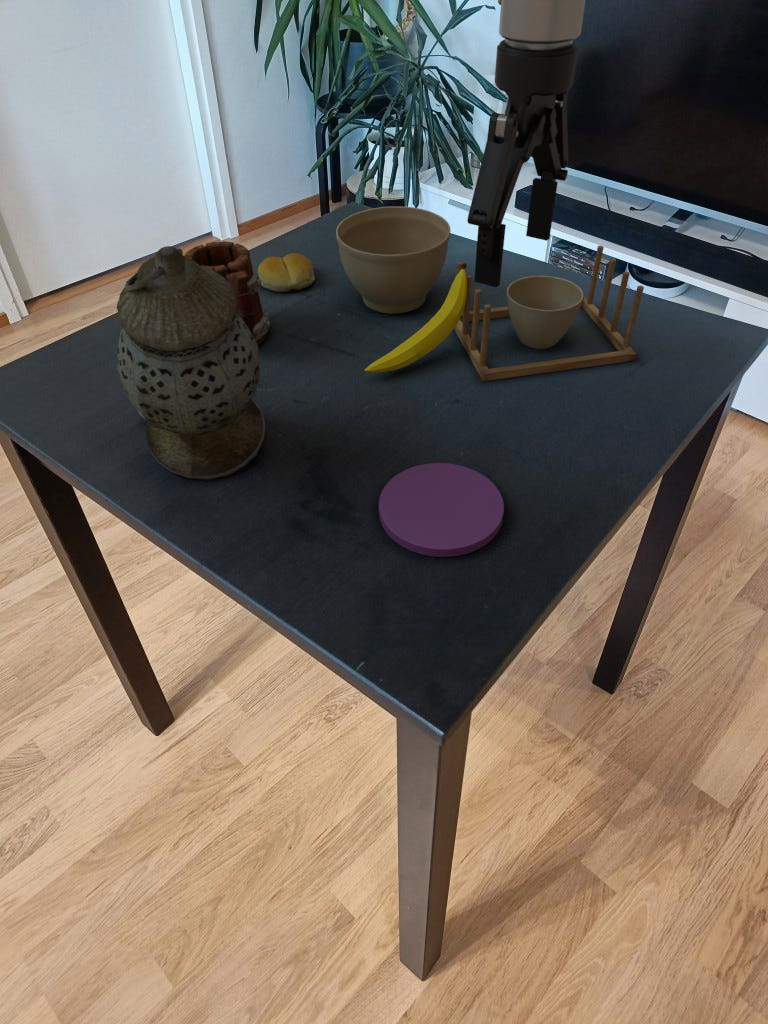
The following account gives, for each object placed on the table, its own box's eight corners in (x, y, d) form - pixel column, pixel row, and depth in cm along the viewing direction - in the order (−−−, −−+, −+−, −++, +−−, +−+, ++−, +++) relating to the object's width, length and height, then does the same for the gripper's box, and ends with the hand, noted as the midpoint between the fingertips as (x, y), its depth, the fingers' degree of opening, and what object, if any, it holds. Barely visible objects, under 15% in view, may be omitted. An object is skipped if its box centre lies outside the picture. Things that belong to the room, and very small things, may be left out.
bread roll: (256, 273, 115) (252, 249, 112) (311, 267, 116) (308, 243, 113) (260, 297, 109) (256, 272, 106) (318, 290, 110) (316, 265, 108)
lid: (520, 545, 71) (522, 537, 70) (393, 567, 69) (393, 559, 68) (481, 463, 80) (482, 455, 79) (368, 480, 78) (367, 472, 78)
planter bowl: (324, 288, 111) (318, 218, 103) (417, 267, 115) (418, 198, 108) (366, 337, 100) (363, 263, 93) (466, 311, 105) (471, 238, 97)
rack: (634, 360, 94) (651, 293, 88) (482, 381, 92) (488, 313, 85) (585, 303, 106) (598, 240, 99) (449, 320, 103) (452, 256, 96)
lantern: (164, 497, 77) (109, 329, 56) (125, 403, 83) (62, 218, 62) (284, 455, 82) (275, 285, 60) (238, 368, 88) (216, 185, 66)
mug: (249, 302, 107) (241, 208, 96) (293, 358, 101) (290, 265, 89) (175, 324, 103) (157, 229, 91) (216, 384, 96) (201, 290, 84)
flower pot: (585, 333, 100) (595, 285, 95) (557, 367, 94) (566, 317, 89) (520, 315, 104) (525, 268, 99) (489, 346, 98) (493, 298, 93)
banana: (376, 393, 95) (352, 359, 91) (476, 297, 97) (458, 260, 92) (387, 400, 93) (364, 366, 89) (490, 302, 94) (471, 264, 90)
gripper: (553, 12, 75) (528, 214, 90) (437, 65, 60) (430, 296, 75) (622, 19, 72) (584, 226, 87) (518, 75, 57) (495, 314, 72)
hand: (513, 259), depth 81 cm, fingers open, 13 cm apart
